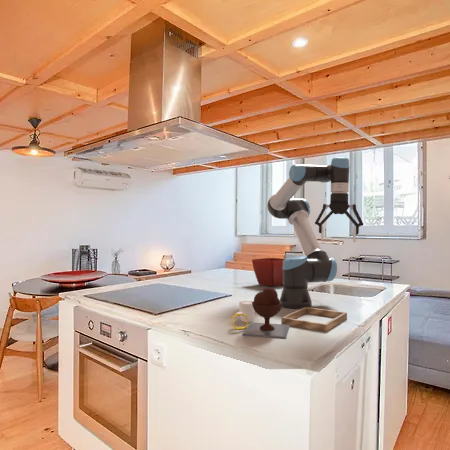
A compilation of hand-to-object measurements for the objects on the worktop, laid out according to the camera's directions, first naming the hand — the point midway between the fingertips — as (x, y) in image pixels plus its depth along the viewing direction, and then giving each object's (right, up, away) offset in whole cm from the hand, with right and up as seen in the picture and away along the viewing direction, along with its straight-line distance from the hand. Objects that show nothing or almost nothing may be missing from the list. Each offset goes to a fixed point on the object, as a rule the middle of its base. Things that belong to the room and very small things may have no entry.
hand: (338, 241), depth 152 cm
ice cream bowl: (-35, -31, -27) cm, 54 cm away
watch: (-44, -31, -25) cm, 60 cm away
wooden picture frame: (-14, -31, -15) cm, 37 cm away
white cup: (-41, -32, -12) cm, 53 cm away
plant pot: (-19, -32, +73) cm, 82 cm away
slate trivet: (-35, -31, -27) cm, 54 cm away
